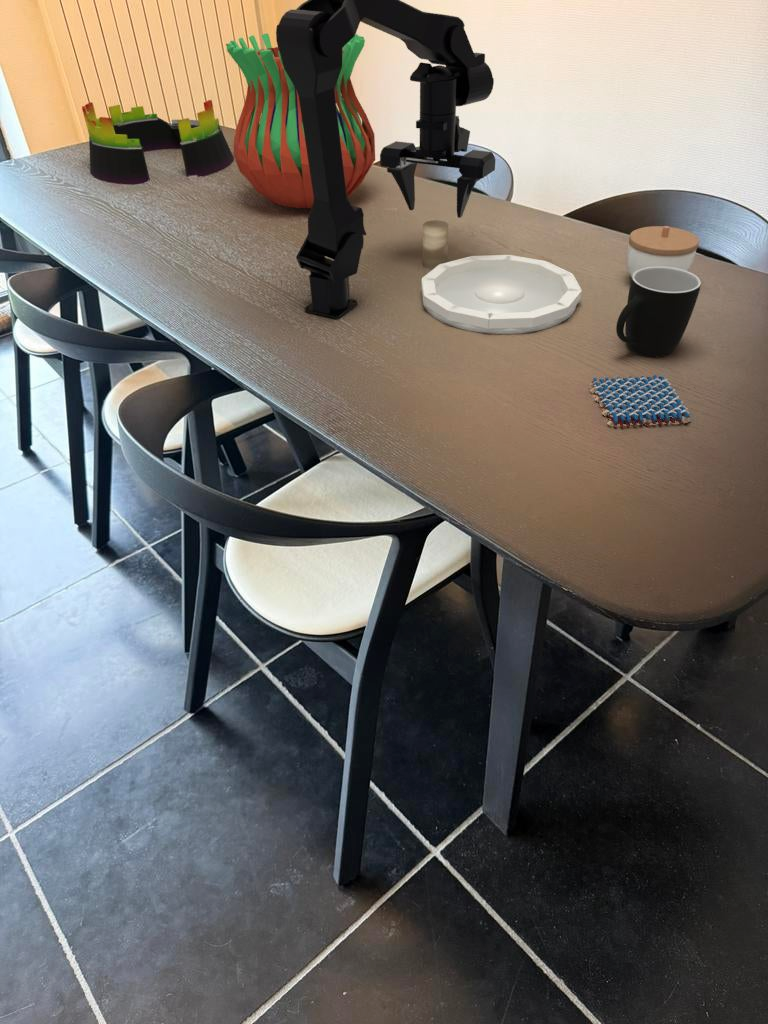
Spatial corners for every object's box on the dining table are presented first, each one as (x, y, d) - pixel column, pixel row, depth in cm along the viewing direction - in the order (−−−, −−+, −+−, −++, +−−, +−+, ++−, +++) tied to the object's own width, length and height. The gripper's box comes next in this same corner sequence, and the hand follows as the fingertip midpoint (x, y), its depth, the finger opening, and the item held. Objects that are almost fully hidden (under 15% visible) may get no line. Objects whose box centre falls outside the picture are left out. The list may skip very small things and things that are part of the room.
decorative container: (263, 156, 189) (254, 91, 179) (162, 194, 165) (146, 122, 156) (164, 141, 204) (152, 81, 194) (59, 174, 181) (39, 107, 171)
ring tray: (546, 347, 103) (548, 331, 101) (395, 314, 113) (395, 299, 111) (596, 284, 119) (598, 269, 118) (460, 260, 129) (461, 246, 127)
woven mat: (662, 384, 95) (665, 371, 94) (691, 429, 87) (696, 415, 86) (585, 388, 95) (587, 375, 94) (607, 433, 87) (610, 419, 86)
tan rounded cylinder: (440, 270, 126) (441, 230, 121) (418, 266, 127) (418, 226, 123) (451, 261, 129) (452, 222, 124) (429, 258, 130) (430, 219, 126)
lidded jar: (642, 301, 114) (655, 242, 108) (608, 276, 122) (619, 220, 116) (700, 291, 116) (716, 234, 110) (664, 267, 124) (677, 212, 118)
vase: (400, 188, 163) (398, 31, 143) (332, 230, 143) (320, 55, 123) (290, 173, 174) (275, 27, 155) (214, 210, 154) (185, 47, 135)
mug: (649, 327, 107) (664, 261, 100) (696, 351, 101) (716, 282, 94) (589, 348, 102) (601, 280, 96) (635, 374, 97) (651, 303, 90)
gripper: (511, 106, 114) (503, 207, 124) (409, 97, 121) (409, 193, 131) (484, 120, 106) (478, 226, 117) (377, 110, 114) (379, 211, 124)
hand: (435, 213), depth 122 cm, fingers open, 9 cm apart
